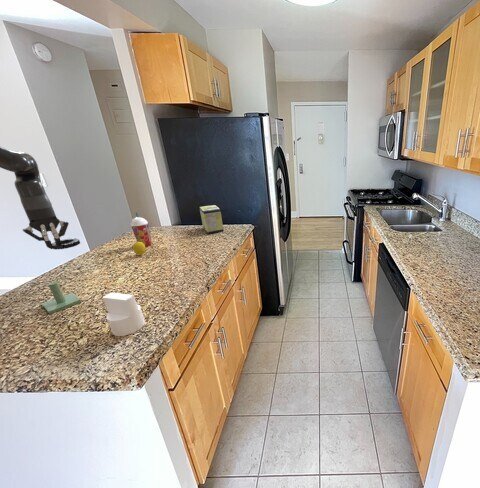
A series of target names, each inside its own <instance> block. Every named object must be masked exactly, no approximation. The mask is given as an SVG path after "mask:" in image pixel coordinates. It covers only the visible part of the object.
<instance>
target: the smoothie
mask: <svg viewBox="0 0 480 488" xmlns="http://www.w3.org/2000/svg"><path fill="white" fill-rule="evenodd" d="M135 215H136V217H133V218H132V220H131V222H130V224H129V225H130V227H131V230H132V233H133V235H134V237H135V240H136V242H137V241H138V242H142V243H143V244H144V245H145V247H147V248H148V247H150V246H151V245H152V243H153V242H152V236H151V231H150V227H149V221H147V219H146V218H144V217H142V216H139V215H138V212H135Z"/></svg>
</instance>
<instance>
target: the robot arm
mask: <svg viewBox="0 0 480 488" xmlns="http://www.w3.org/2000/svg"><path fill="white" fill-rule="evenodd" d="M0 169H2V170H5V171H8V172H11V173H14V176H15V181H14V187H15V190H16V192H17V194H18V196H19V199H20V203H21V205H22V207H23V210H24V212H25V214H26V216H27V219H28V221H29V223H28V226H27V227H25V228H22V232H23V233H25V234H27V235H28V236H30V237H32V238H33V239H35V240H37V241H39V242H44V244H45V246H46V248H48V249H50V250H55V249H54V248H53V246H52V243H53V242H52V241H51V239H50V238H49V234H48V232H50V233H51V235H52V236H53V241H54V242H55V243H56V244H57V245H58V244H62V243H61V240H62V239H61V237H64V236H65V235H66V232H67V229H68V227H69V222H68V221H65V220H60V219H59V218H58V217H57V215H56V213H55V210H54V208H53V204H52V202H51V200H50V198H49V197H48V195H47V193H46V190H45V188H44V184H43V183H42V179H41V174H40V169H39V165H38V163H37V160H36V159H35V158H34V157H33V155H31V154H29V153H27V152H25V151H24V152H23V151H12V150H9V149H7V148H5V147H2V146H0ZM59 226H60V229H59V231H58V230H57V228H58V227H59ZM33 229H34V230H35V231H37V232H39V233H40V235H41V236H39V235H37V234H35V233H33V232H34V230H33Z"/></svg>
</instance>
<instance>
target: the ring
mask: <svg viewBox="0 0 480 488" xmlns="http://www.w3.org/2000/svg"><path fill="white" fill-rule="evenodd" d="M60 240H61V243H62V244H58V245H57V244H56V243H55V241H54V242H51V243H52V246H53V248H54V249H53V250H65V249H69V248H73V247H76V246H78V245H80V244H81V241H80V239H78V238H77V237H75V238H67V239H66V238H64V239H60Z"/></svg>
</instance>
